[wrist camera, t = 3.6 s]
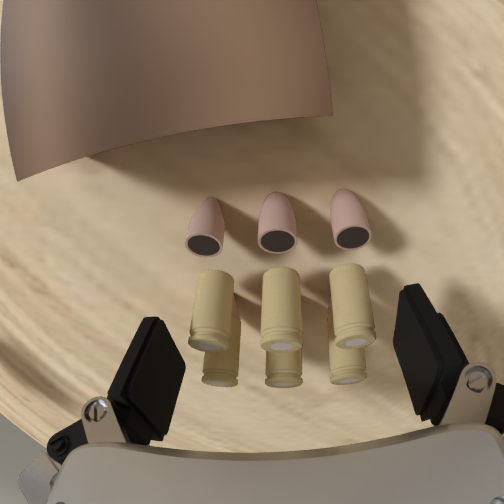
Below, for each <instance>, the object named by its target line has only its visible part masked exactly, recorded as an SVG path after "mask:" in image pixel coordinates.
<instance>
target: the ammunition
mask: <svg viewBox="0 0 504 504" xmlns="http://www.w3.org/2000/svg"><path fill="white" fill-rule="evenodd" d="M330 215H331V225H332V231H333V237H334V242H335V244H336V246H337V247H339V248H341V249H344V250H355V249H359V248H362V247H363V246H365V245H366V244H368V243H369V241H370V240H371V237H372V233H371V229H370V225H369V222H368V218H367V215H366V212H365V210H364V207H363V205H362V204H361V202H360V200H359V199H358V198H357V196H356V195H355V194H354V193H353V192H351V191H349V190H347V189H340V190H338V191H337V192H336V193H335V195H334V197H333V199H332V203H331V212H330ZM224 232H225V222H224V219H223V215H222V212H221V209H220V205H219V202H218V200H217V199H215V198H207V199H206V200H205V201H204V203H203V204H202V205H201V206H200V208H199V209H198V210H197V211H196V213H195V214H194V215H193V216H192V218H191V220H190V223H189V228H188V232H187V236H186V240H185V246H186V248H187V249H188V250H189V251H190V252H191V253H193V254H195V255H197V256H201V257H213V256H216V255H218V254H219V253H220V252H221V251H222V246H223V239H224ZM258 244H259V246H260V248H261V249H263V250H264V251H266V252H269V253H274V254H281V253H286V252H289V251H291V250H292V249H294V248H295V246H296V245H297V228H296V218H295V213H294V210H293V207H292V205H291V203H290V201H289V200H288V198H287V197H286V196H285V195H284V194H282V193H280V192H274V193H271V194H270V195H269V196H268V197H267V198H266V200H265V201H264V203H263V205H262V208H261V211H260V216H259V224H258ZM329 279H330V289H331V297H330V301H329V308H328V318H327V322H328V338H329V357H330V373H331V374H332V377H331V378H330V382H331V383H332V384H336V385H345V384H353V383H358V382H361V381H363V380H365V379H366V378H367V374H366V373H365V372H364V371H365V369H366V363H365V354H364V347H365V346H367V345H370V344H371V343H373V342H374V341H375V340H376V333H375V332H374V328H375V326H374V319H373V313H372V307H371V302H370V296H369V291H368V285H367V280H366V275H365V270H364V268H363V267H362V266H360V265H358V264H343V265H340V266H338V267H336V268H334V269H333V270H332V271H331V272H330V274H329ZM233 289H234V279H233V277H232V276H231V275H230V274H228V273H226V272H223V271H219V270H208V271H204V272H202V273H201V274H200V275H199V279H198V284H197V290H196V296H195V302H194V308H193V314H192V320H191V327H190V335H191V336H190V337H189V340H188V344H189V345H190V346H191V347H192V348H194V349H197V350H200V351H204V352H205V356H204V364H203V373H204V376H202V382H203V383H205V384H208V385H211V386H218V387H234V386H236V385H237V384H238V380H237V379H236V377H237V376H238V370H239V352H240V335H241V321H240V315H239V311H238V308H237V304H236V301H235V297H234V294H233ZM302 334H303V332H302V310H301V291H300V276H299V273H298V272H297V271H295V270H294V269H291V268H287V267H276V268H272V269H270V270H268V271H266V272H265V273H264V275H263V288H262V312H261V337H262V339H261V340H260V346H261V348H262V349H264V350H266V376H267V377H268V378H267V379H265V384H266V385H267V386H270V387H276V388H290V387H296V386H300V385H301V384H302V378H300V376H301V375H302V346H303V339H302V338H301V337H302Z"/></svg>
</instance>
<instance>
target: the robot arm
mask: <svg viewBox="0 0 504 504" xmlns="http://www.w3.org/2000/svg"><path fill="white" fill-rule="evenodd" d="M393 345H394V349H395V352H396V355H397V358H398V360H399V363H400V366H401V369H402V372H403V375H404V378H405V381H406V384H407V388H408V391H409V394H410V397H411V401H412V404H413V407H414V411H415V414H416V415H420V417H421V420H422V421H425V420H428V419H430V420H431V423H432V424H433V425H434V426H433V427H430V428H426V429H422V430H417V431H413V432H409V433H405V434H401V435H396V436H392V437H387V438H382V439H377V440H372V441H367V442H362V443H356V444H350V445H344V446H337V447H329V448H321V449H311V450H300V451H287V452H264V453H228V452H205V451H191V450H180V449H171V448H162V447H153V446H150V445H149V444H150V441H151V440H155V441H163V437H164V435H167V433H168V430H169V426H170V423H171V419H172V415H173V412H174V408H175V405H176V401H177V397H178V394H179V390H180V387H181V383H182V380H183V376H184V373H185V369H186V366H185V362H184V360H183V358H182V356H181V354H180V352H179V350H178V349H177V347H176V345H175V343H174V341H173V339H172V337H171V335H170V333H169V331H168V329H167V327H166V325H165V323H164V321H163V320H160V318H159V317H145V318H144V319H143V320H142V322H141V324H140V326H139V328H138V330H137V332H136V334H135V336H134V338H133V340H132V342H131V344H130V346H129V348H128V350H127V352H126V354H125V356H124V358H123V361H122V363H121V365H120V367H119V369H118V371H117V373H116V375H115V378H114V380H113V382H112V384H111V386H110V388H109V391H108V396H107V398H105V397H101V396H100V397H94V398H92V399H90V400H89V401H88V402H87V403H86V404H85V405H84V407H83V408H82V412H81V418H82V419H80V420H79V421H77V422H75V423H73V424H72V425H70V426H68V427H66V428H65V429H63V430H61V431H59V432H57V433H56V434H54V435H53V436H52V437H51V438H50V439H49V441H48V444H47V452H45V451H43V452H42V453H41V454H40V455H39V456H38V457H37V458H36V459H35V460H34V461H33V462H32V463H31V464H30V465H29V466H27V468H25V469H24V470H23V471H22V472H21V474H20V476H19V479H18V484H19V487H20V489H21V491H22V493H23V495H24V496H25V498H26V500H27V501H28V503H29V504H504V385H502V384H499V383H497V382H496V375H495V373H494V371H493V369H492V368H491V367H489V366H488V365H486V364H484V363H480V362H475V363H471V364H469V362H468V360H467V358H466V356H465V354H464V352H463V350H462V349H461V347H460V345H459V343H458V341H457V339H456V337H455V335H454V334H453V332H452V330H451V328H450V326H449V325H448V323H447V321H446V319H445V318H444V316H443V315H442V314H441V313H437V312H436V310H435V309H434V307H433V305H432V304H431V302H430V300H429V299H428V297H427V295H426V294H425V292H424V290H423V289H422V287H421V286H420V284H418V283H417V284H411V285H406V286H404V289H403V290H401V291H400V293H399V302H398V310H397V318H396V325H395V331H394V337H393Z"/></svg>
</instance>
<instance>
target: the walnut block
mask: <svg viewBox="0 0 504 504" xmlns="http://www.w3.org/2000/svg"><path fill="white" fill-rule="evenodd" d="M0 62H1V85H2V97H3V107H4V115H5V123H6V129H7V136H8V141H9V147H10V152H11V157H12V162H13V166H14V170H15V175H16V179H17V182H18V181H20V180H23V179H25V178H28V177H30V176H33V175H35V174H38V173H40V172H43V171H46V170H48V169H51V168H54V167H57V166H60V165H62V164H65V163H68V162H71V161H74V160H77V159H81V158H84V157H87V156H90V155H93V154H97V153H100V152H104V151H107V150H111V149H114V148H118V147H122V146H125V145H129V144H133V143H137V142H141V141H146V140H150V139H154V138H159V137H163V136H168V135H173V134H178V133H183V132H188V131H193V130H199V129H205V128H211V127H217V126H224V125H231V124H238V123H246V122H254V121H263V120H273V119H284V118H297V117H314V116H333V113H332V103H331V94H330V85H329V77H328V69H327V62H326V55H325V48H324V42H323V36H322V30H321V24H320V18H319V13H318V8H317V3H316V0H4V1H3V10H2V22H1V44H0Z"/></svg>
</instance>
